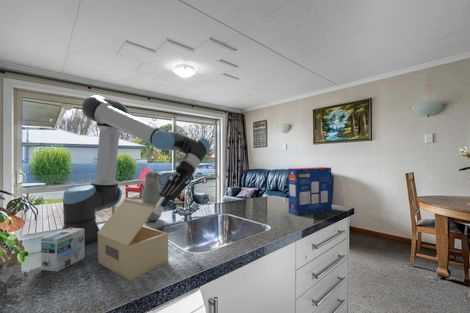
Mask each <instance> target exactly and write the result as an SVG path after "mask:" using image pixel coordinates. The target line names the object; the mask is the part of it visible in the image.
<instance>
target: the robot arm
mask: <svg viewBox="0 0 470 313" xmlns="http://www.w3.org/2000/svg"><path fill="white" fill-rule="evenodd" d="M81 109H82V114H84V116H85V117H86V118H87V119H89V120H90V121H93V122H96V127H97V129H99V137H98V145H97V146H98V148H97V154H96V156H97V158H96V167H95V178H94V179H93V180H92V181H91V182H90V184H86V185H80V186H79V185H78V186H73V187H70V188H68V189H66V190H65V191H64V192H63V196H62V197H63V198H62V203H63V204H62V207H63V208H62V210H63V212H62V214H63V226H62V228H61V231H62V230H65V229H67V228H81V229H84V242H85V245H89V244H92V243H94V242H96V241H98V233H97V232H98V231H99V230H100V227H99V225H98V223H97V220H96V218H97V217H96V215H97V214H96V213H97V212H101V211H103V210H108V209H111V208H113V207H114V206H116V205H118V204H119V203H120V201H121V198H122V197H123V196H122V194H123V193H122V192H123V191H122V189H121V188H120V186H119V181H117V180H116V172H117V163H118V162H117V160H118V152H119V151H118V150H119V141H120V133H121V132H125V133H126V134H129V135H131V136H133V137H134V138H138V139H139V140H142V141H144V142H146V143H148V144H151V145H152V146H154V148H155V149H157V150H161V151H177V152H181V153H182V154H185V155H184V156H183V157H182V159H181V160H180V162H178V164H177V165H176V167H175V172H174V173H173V174H172V175H171V176H169V175H168V176H166V178H165V179H166V180H165V182H164V184H163V186H162V188H161V191H160V193H159V195H160V196H161V198H160V199H159V201H158V202H157V204H156V206H157V207H156V208H155V209H154V211H153V213H155V214H156V215H159V214H160V213H161V211H163V210H164V209H165V208H166V206H167V204H168V203H169V202H170V201H172V200H173V201H174V200H176V198H177V197H179V195H180V194H181V193H182V192H183V191H184V190H185V189H186V187H187V186H188V185H190V184H191V183H192V181H191V179H190V178H192V177H193V175H194V174H195V172H196V170H197V169H198V167H199V166H200V164H201V163H202V162H203V160H204V158H206V155H207V154H208V153H209V150H211V143H210V141H209V140H208V139H207V138H205V137H197V138H196V139H193V138H190V137H189V136H185V135H183V134H181V133H179V132H175V131H168V130H167V129H166V130H165V129H163V128H161V127H158V126H156V125H154V124H151V123H149V122H147V121H145V120H143V119H140V118H138V117H136V116H133V115H132V114H130V111H129V110H128V107H126V106H125V105H124V104H122V103H120V102H118V101H117V100H112V99H110V98H106V97H104V96H101V95H91V96H88V97H86V99H85V100H84V101H83V102H82V104H81ZM161 214H162V213H161Z"/></svg>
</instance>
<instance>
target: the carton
mask: <svg viewBox="0 0 470 313" xmlns="http://www.w3.org/2000/svg"><path fill="white" fill-rule="evenodd" d="M97 262H98V264H100V265H102V266H103V267H105V268H106V269H109V270H111V271H112V272H114V273H115V274H117V275H118V276H121V278H124V279H126V280H127V281H132V280H134V279H135V278H138V277H140V276H142V275H144V274H147V273H148V272H151V271H152V270H154V269H156V268H159V267H161V266H163V265H165V264H167V263H169V233H168V232H166V231H162V230H159V229H155V228H152V227H149V226H146V225H143V226H142V227H141V229H140V230H139V232H138V233H137V234H136V236H135V237H134V239H133V240H132V241H131V243H130V244H129V246H126V245H123V244H121V243H119V242H116V241H114V240H112V239H109V238H107V237H105V236H102V235H100V234H98V240H97Z"/></svg>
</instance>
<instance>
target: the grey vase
mask: <svg viewBox="0 0 470 313" xmlns="http://www.w3.org/2000/svg"><path fill="white" fill-rule="evenodd" d="M144 181H145V182H144V186H143V190H142V193H141V194H142V197H141V198H142V199H141V201H142V202H141V203H146V204H151V205H155V206H156V204H157V202H158V201H159V199H160V198H161V196H160V195H159V193H160V191H161V189H162V188H161V184H160V174H159V173H158V172H157V171H149V172H146V174H145V180H144ZM162 211H163V210H162ZM162 211H161V213H160V214H159V215H156V214H155V213H153V212H152V214H151V215H150V216H149V218H148V219H147V221H148V222H156V221H158V220H160V218H161V216H162ZM147 221H146V222H147Z"/></svg>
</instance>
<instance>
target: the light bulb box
mask: <svg viewBox="0 0 470 313" xmlns="http://www.w3.org/2000/svg"><path fill="white" fill-rule="evenodd" d="M40 239H41V240H40V244H41V246H40V248H41V250H40V252H41V253H40V254H41V255H40V256H41V271H48V272H56V273H57V272H60V271H62V270H63V269H66V268H68V267H69V266H71V265H73V264H75V263H77V262H79V261H82V260H84V259H85V251H86V250H85V249H86V248H85V246H86V244H85V242H84V229H81V228H67V229H65V230H62V229H61V230H58V231H56V232H54V233H51V234H48V235H44V236H42V237H40Z"/></svg>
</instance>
